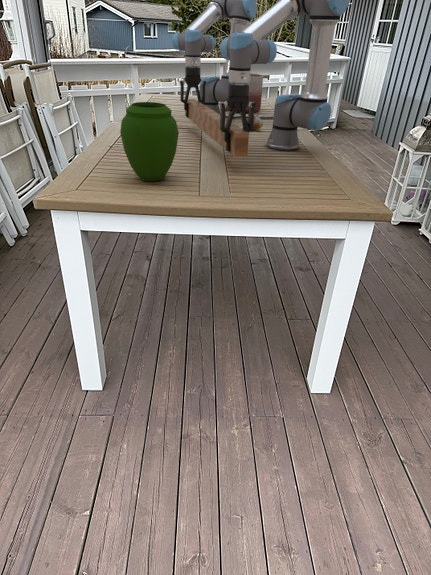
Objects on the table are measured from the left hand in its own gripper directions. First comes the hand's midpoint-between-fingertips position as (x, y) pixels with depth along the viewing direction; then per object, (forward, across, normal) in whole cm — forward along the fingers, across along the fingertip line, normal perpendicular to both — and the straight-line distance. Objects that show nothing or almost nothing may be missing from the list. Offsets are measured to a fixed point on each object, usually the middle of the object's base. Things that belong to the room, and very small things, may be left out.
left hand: (192, 116), depth 214 cm
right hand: (-1, 0, -70) cm, 70 cm away
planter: (+9, +50, +63) cm, 81 cm away
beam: (0, 0, -35) cm, 35 cm away
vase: (+6, -34, -78) cm, 85 cm away
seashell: (+8, +35, -1) cm, 36 cm away
